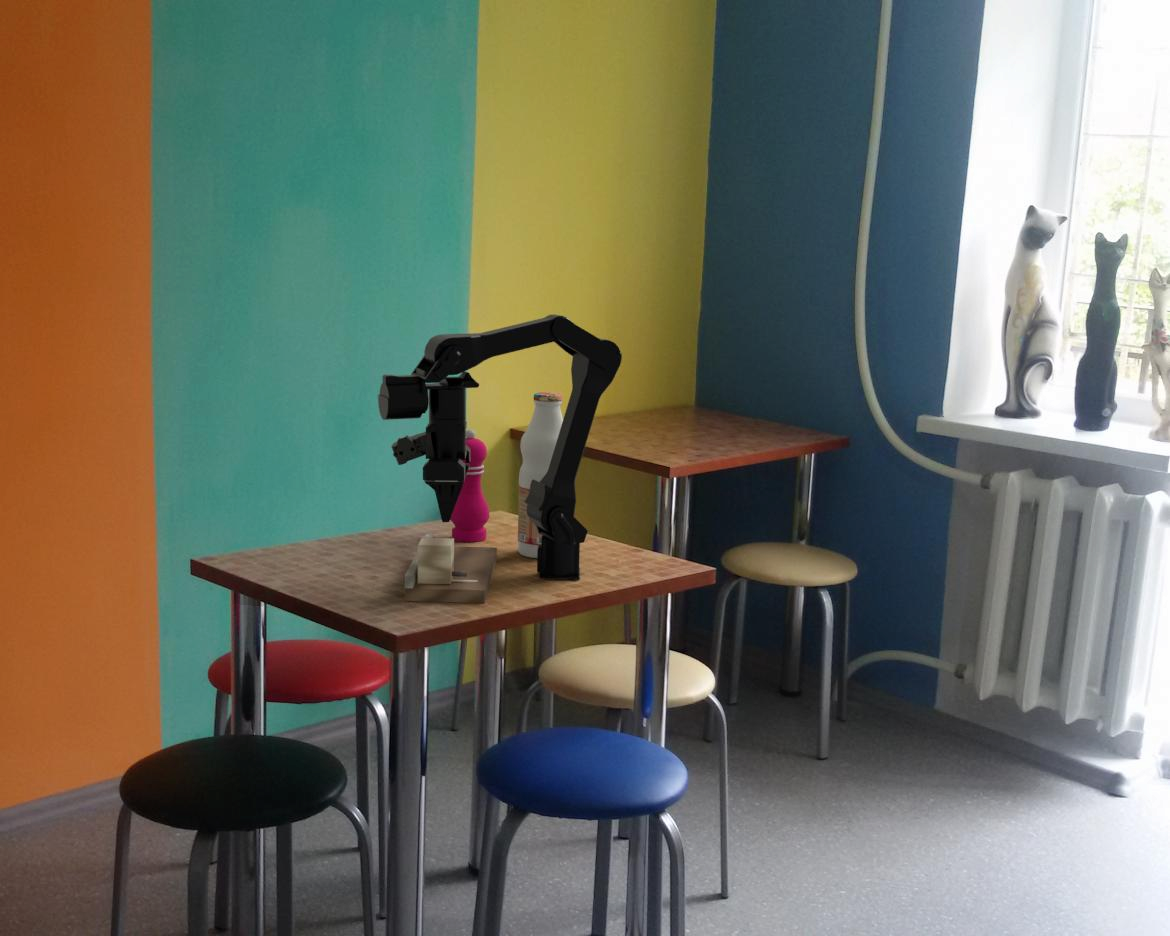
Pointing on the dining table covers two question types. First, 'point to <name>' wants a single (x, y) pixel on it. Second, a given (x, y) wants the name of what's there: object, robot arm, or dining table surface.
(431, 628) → the dining table surface
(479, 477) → the pepper mill
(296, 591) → the dining table surface
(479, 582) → the walnut board
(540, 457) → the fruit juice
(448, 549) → the beige block
